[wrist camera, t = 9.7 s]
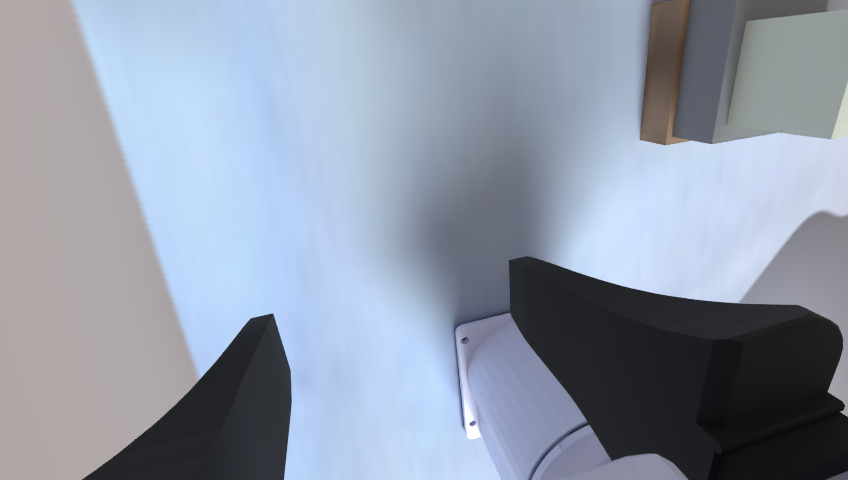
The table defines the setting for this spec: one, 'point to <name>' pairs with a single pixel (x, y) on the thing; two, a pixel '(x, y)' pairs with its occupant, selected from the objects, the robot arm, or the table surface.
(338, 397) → the table surface
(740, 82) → the sage block
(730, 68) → the grey flat block
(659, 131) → the walnut block
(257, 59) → the table surface
